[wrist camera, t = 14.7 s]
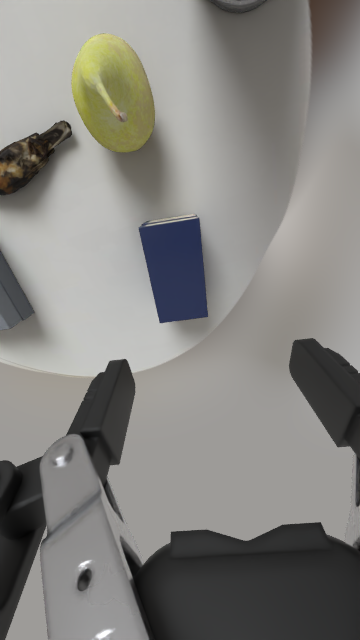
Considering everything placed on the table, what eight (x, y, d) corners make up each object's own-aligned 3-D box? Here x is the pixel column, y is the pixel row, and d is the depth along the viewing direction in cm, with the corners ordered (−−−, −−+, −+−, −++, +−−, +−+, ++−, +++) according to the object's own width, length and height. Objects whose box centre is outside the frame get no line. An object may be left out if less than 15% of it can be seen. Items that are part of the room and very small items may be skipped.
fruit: (125, 46, 19) (60, -152, 8) (174, 135, 22) (171, 71, 11) (76, 105, 21) (-28, 3, 10) (127, 179, 24) (87, 159, 13)
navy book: (161, 315, 27) (159, 323, 25) (141, 225, 22) (138, 227, 20) (205, 309, 27) (208, 317, 25) (197, 216, 22) (199, 217, 20)
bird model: (-29, 179, 23) (-52, 176, 21) (66, 115, 21) (52, 104, 19) (-7, 208, 25) (-26, 208, 23) (85, 152, 22) (74, 145, 20)
